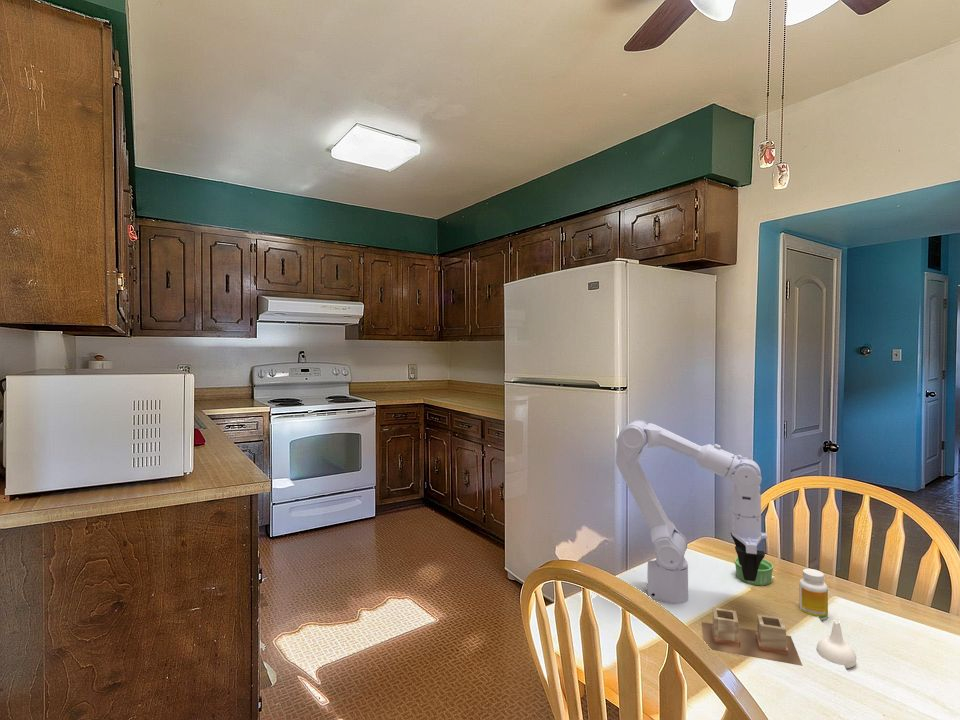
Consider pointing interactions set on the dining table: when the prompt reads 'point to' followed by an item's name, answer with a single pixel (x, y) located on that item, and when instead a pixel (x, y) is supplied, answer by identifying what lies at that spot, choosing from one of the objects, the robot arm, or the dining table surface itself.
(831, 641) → the garlic bulb
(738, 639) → the seated sleeve
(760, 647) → the banded sleeve
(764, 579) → the ramekin
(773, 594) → the dining table surface
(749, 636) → the pin board
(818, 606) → the supplement bottle
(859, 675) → the dining table surface
